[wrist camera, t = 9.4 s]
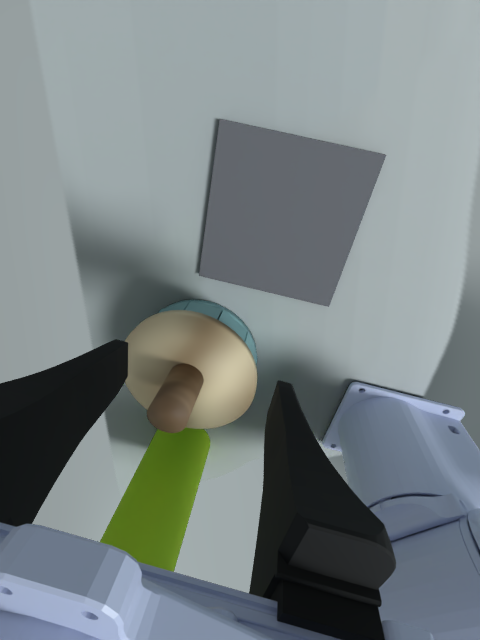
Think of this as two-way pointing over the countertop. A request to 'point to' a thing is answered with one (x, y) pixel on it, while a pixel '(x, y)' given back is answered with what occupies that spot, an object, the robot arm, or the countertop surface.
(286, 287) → the mat
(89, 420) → the robot arm
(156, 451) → the soap dispenser
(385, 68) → the countertop surface
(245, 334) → the bowl
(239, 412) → the lid
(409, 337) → the countertop surface
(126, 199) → the countertop surface
